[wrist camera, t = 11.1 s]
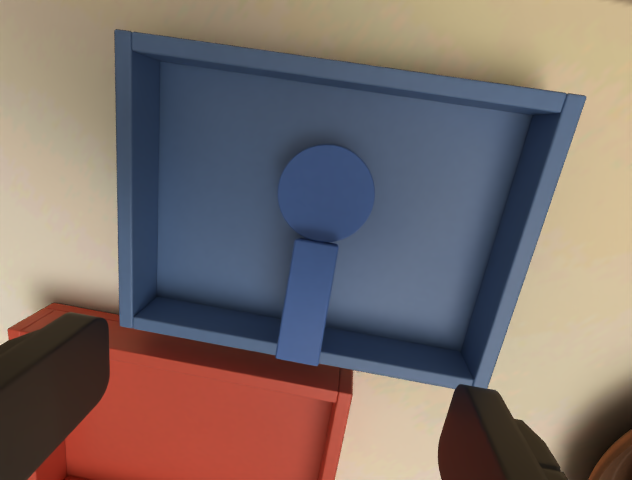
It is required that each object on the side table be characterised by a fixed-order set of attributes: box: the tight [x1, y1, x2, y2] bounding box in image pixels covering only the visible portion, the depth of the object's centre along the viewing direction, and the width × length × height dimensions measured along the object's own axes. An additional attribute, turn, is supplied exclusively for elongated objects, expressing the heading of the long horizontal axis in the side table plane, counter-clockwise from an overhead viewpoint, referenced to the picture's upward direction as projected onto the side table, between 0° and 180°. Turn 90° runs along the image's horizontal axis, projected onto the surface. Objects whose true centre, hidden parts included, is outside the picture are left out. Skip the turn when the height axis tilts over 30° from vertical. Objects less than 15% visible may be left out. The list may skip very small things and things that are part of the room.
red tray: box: [8, 303, 353, 480], centre depth 19 cm, size 15×11×3 cm
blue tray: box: [114, 29, 586, 389], centre depth 15 cm, size 15×11×3 cm
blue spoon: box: [275, 144, 375, 366], centre depth 14 cm, size 8×4×2 cm, turn 172°
